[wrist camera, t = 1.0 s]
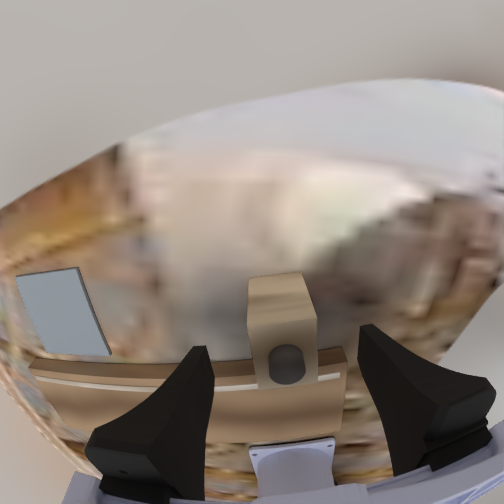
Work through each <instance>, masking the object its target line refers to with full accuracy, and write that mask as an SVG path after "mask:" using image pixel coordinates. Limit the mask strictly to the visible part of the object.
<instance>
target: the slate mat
mask: <svg viewBox="0 0 504 504" xmlns="http://www.w3.org/2000/svg"><path fill="white" fill-rule="evenodd" d="M14 278H15V281H16V284H17V286H18V289H19V292H20V294H21V297H22V299H23V302H24V304H25V307H26V309H27V311H28V314H29V316H30V318H31V320H32V323H33V325H34V327H35V329H36V331H37V333H38V335H39V338H40V340H41V342H42V344H43V346H44V348H45V349H46V351H47V353H59V354H74V355H94V356H110V355H111V354H112V353H111V351H110V349H109V347H108V344H107V342H106V340H105V338H104V335H103V333H102V331H101V328H100V326H99V323H98V321H97V318H96V316H95V313H94V311H93V308H92V306H91V303H90V300H89V297H88V295H87V292H86V289H85V286H84V283H83V280H82V277H81V274H80V271H79V268H78V267H76V268H69V269H62V270H55V271H48V272H41V273H34V274H27V275H20V276H16V277H14Z"/></svg>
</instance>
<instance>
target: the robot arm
mask: <svg viewBox="0 0 504 504" xmlns="http://www.w3.org/2000/svg"><path fill="white" fill-rule="evenodd" d="M357 359H358V363H359V366H360V370H361V373H362V376H363V378H364V381H365V383H366V385H367V387H368V390H369V392H370V394H371V396H372V398H373V401H374V403H375V405H376V407H377V410H378V412H379V415H380V418H381V421H382V424H383V428H384V432H385V435H386V439H387V443H388V448H389V452H390V457H391V462H392V468H393V475H394V477H393V478H390V479H386V480H383V481H380V482H376V483H372V484H369V485H363V484H358V483H351V484H343V485H338V486H334V480H333V475H332V470H331V468H332V462H333V455H334V449H335V439H334V438H325V439H319V440H313V441H307V442H299V443H291V444H283V445H273V446H260V447H251V448H249V455H250V458H251V462H252V465H253V468H254V471H255V474H256V477H257V480H258V498H257V499H255V500H253V501H252V502H213V501H205V494H204V467H205V445H206V435H207V429H208V424H209V419H210V413H211V408H212V403H213V398H214V387H215V375H214V372H213V368H212V365H211V362H210V358H209V355H208V351H207V348H206V346H193V347H192V349H191V350H190V351H189V352H188V354H187V355H186V356H185V358H184V359H183V360H182V361H181V363H180V364H179V365H178V366H177V368H176V369H175V370H174V371H173V373H172V374H171V375H170V376H169V377H168V378H167V379H166V380H165V381H164V383H163V384H162V385H161V386H160V387H159V388H158V389H157V390H156V391H155V392H153V393H152V394H151V395H150V396H149V397H148V398H146V399H145V400H144V401H143V402H141V403H140V404H138V405H137V406H136V407H134V408H133V409H131V410H130V411H128V412H127V413H125V414H123V415H122V416H120V417H118V418H116V419H114V420H112V421H110V422H108V423H106V424H104V425H101V426H99V427H97V428H94V430H93V432H92V434H91V437H90V439H89V441H88V443H87V445H86V448H85V451H84V452H85V455H86V457H87V458H88V460H89V461H90V462H91V463H92V464H93V465H94V466H95V467H96V468H97V469H98V470H99V471H100V472H101V473H102V474H103V477H102V480H100V479H98V478H96V477H94V476H90V475H87V474H83V473H80V472H74V474H73V477H72V479H71V482H70V484H69V487H68V489H67V492H66V494H65V497H64V499H63V502H62V504H470V503H471V502H473V501H475V500H476V499H477V498H479V497H481V496H483V495H484V494H486V493H487V492H489V491H491V490H492V489H494V488H495V487H497V486H498V485H500V484H501V483H502V482H504V420H503V421H501V422H499V423H498V424H496V425H495V426H493V427H492V428H491V429H490V430H488V428H487V427H486V425H487V424H488V420H487V419H486V415H487V413H488V412H489V410H490V408H491V406H492V405H493V403H494V400H495V398H496V390H495V389H494V388H493V386H492V385H491V384H490V382H489V381H488V380H487V379H486V378H485V377H478V376H472V375H467V374H462V373H459V372H455V371H452V370H449V369H446V368H443V367H441V366H438V365H436V364H433V363H431V362H429V361H427V360H425V359H423V358H421V357H419V356H418V355H416V354H414V353H413V352H411V351H409V350H408V349H406V348H405V347H403V346H402V345H400V344H399V343H397V342H396V341H394V340H393V339H392V338H390V337H389V336H388V335H386V334H385V333H384V332H382V331H381V330H380V329H378V328H377V327H376V326H374V325H373V324H368V325H363V326H360V333H359V346H358V357H357Z"/></svg>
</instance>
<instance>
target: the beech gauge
mask: <svg viewBox="0 0 504 504" xmlns="http://www.w3.org/2000/svg"><path fill="white" fill-rule="evenodd" d="M247 331H248V336H249V342H250V347H251V353H252V358H253V364H254V369H255V375H256V380H257V386H258V390H265V389H275V388H284V387H292V386H299V385H306V384H313V383H318V328H317V316H316V313H315V310H314V307H313V304H312V301H311V298H310V296H309V293H308V290H307V287H306V284H305V281H304V279H303V276H302V273H301V271H299V272H292V273H284V274H276V275H268V276H260V277H252V278H249V285H248V309H247Z"/></svg>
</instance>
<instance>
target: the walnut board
mask: <svg viewBox="0 0 504 504" xmlns="http://www.w3.org/2000/svg"><path fill="white" fill-rule="evenodd" d="M347 364H348V361H347V359H346V356H345V354H344V351H343V349H342V347H339V348H333V349H327V350H321V351H318V383H313V384H306V385H299V386H292V387H284V388H275V389H265V390H258V386H257V380H256V375H255V369H254V364H253V359H249V360H238V361H225V362H211V365H212V368H213V372H214V375H215V387H214V398H213V403H212V408H211V413H210V419H209V424H208V429H207V435H206V443H244V442H260V441H272V440H282V439H291V438H299V437H306V436H313V435H319V434H325V433H330V432H336V431H340V430H341V423H342V415H343V406H344V397H345V388H346V377H347ZM178 365H179V364H109V363H89V362H74V361H62V360H52V359H42V358H36V359H35V360H34V361H33V362H32V364H31V365H30V366H29V367H28V369H29V371H30V372H31V374H32V376H33V377H34V379H35V381H36V382H37V384H38V385H39V387H40V388H41V390H42V391H43V393H44V394H45V396H46V397H47V399H48V400H49V402H50V403H51V405H52V406H53V408H54V409H55V410H56V412H57V413H58V414H59V416H60V417H61V418H62V420H63V421H64V422H65V424H66V425H67V426H68V427H71V428H76V429H80V430H85V431H90V432H93V430H94V428H97V427H99V426H101V425H104V424H106V423H108V422H110V421H112V420H114V419H116V418H118V417H120V416H122V415H123V414H125V413H127V412H128V411H130V410H131V409H133V408H134V407H136V406H137V405H138V404H140V403H141V402H143V401H144V400H145V399H146V398H148V397H149V396H150V395H151V394H152V393H153V392H155V391H156V390H157V389H158V388H159V387H160V386H161V385H162V384H163V383H164V381H165V380H166V379H167V378H168V377H169V376H170V375H171V374H172V373H173V371H174V370H175V369H176V368H177V366H178Z"/></svg>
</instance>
